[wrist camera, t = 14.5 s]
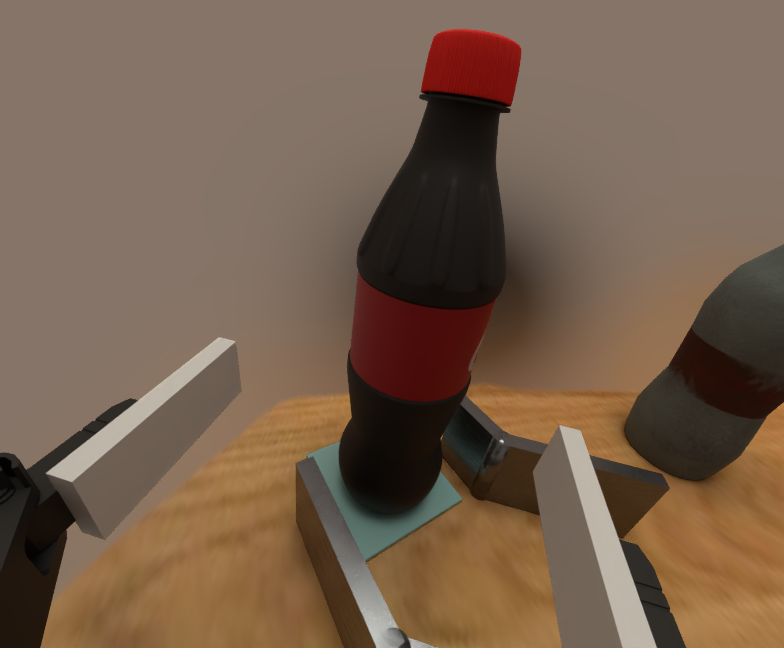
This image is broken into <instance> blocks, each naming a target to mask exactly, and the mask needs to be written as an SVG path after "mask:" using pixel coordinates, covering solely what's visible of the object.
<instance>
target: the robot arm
mask: <svg viewBox="0 0 784 648" xmlns="http://www.w3.org/2000/svg"><path fill="white" fill-rule="evenodd" d="M241 391H242V390H241V381H240V373H239V364H238V356H237V347H236V342H235V341H232V340H228V339H224V338H220V337H219V338H217V340H215V341H214V342H213V343H211V344H210V345H209V346H207V347H206V348H205V349H203V350H202V351H201V352H200V353H198V354H197V355H196V356H195V357H193V358H192V359H191V360H189V361H188V362H187V363H186V364H184V365H183V366H182V367H181V368H180V369H178V370H177V371H175V372H174V373H173V374H172V375H170V376H169V377H168V378H167V379H165V380H164V381H163V382H162V383H160V384H159V385H158V386H156V387H155V388H154V389H152V390H151V391H150V392H149V393H147V394H146V395H145V396H144V397H142V398H141V399H140V400H135V399H131V398H130V399H128V400H126V401H123V402H121V403H119V404H117V405H115V406H113V407H111V408H110V409H108V410H107V411H105V412H104V413H103V414H101V415H100V416H99V417H97V418H96V420H95V421H92V422H91V423H89V424H88V425H87V426H85V427H84V428H83V430H82V431H79V432H77V433H76V434H74V435H73V436H72V437H70V438H69V439H68V440H66V441H65V442H64V443H62V444H61V445H60V446H58V447H57V448H56V449H54V450H53V451H52V452H50V453H49V454H48V455H46V456H45V457H44V458H42V459H41V460H40V461H38V462H37V463H36V464H34V465H33V466H32V467H30V468H29V469H27V470H26V469H25V468H24V466H23V465H22V463H21V462H20V460H19V459H18V458H17V457H16V456H15V455H14V454H9V453H0V648H40V647H41V643H42V638H43V634H44V630H45V626H46V622H47V618H48V614H49V610H50V606H51V602H52V597H53V593H54V589H55V585H56V581H57V577H58V573H59V569H60V564H61V561H62V557H63V552H64V548H65V544H66V540H67V531H66V529H67V528H68V527H69V526H70V525H72V524H73V523H74V522H75V521H76V523H77V524H78V526H79V528H80V529H81V531H82V532H84V533H86V534H89V535H92V536H95V537H98V538H101V539H104V540H105V539H106V538H107V537H108V536H109V535H110V534H111V533H112V532H113V531H114V529H115V528H116V527H117V526H118V525H119V524H120V523H121V522H122V521H123V520H124V519H125V518H126V516H127V515H128V514H129V513H130V512H131V511H132V510H133V509H134V508H135V506H137V504H138V503H139V502H140V501H141V500H142V499H143V498H144V497H145V496H146V495H147V494H148V492H149V491H150V490H151V489H152V488H153V487H154V486H155V485H156V484H157V483H158V481H159V480H160V479H161V478H162V477H163V476H164V475H165V474H166V473H167V472H168V471H169V470H170V469H171V467H172V466H173V465H174V464H175V463H176V462H177V461H178V460H179V459H180V458H181V457H182V455H183V454H184V453H185V452H186V451H187V450H188V449H189V448H190V447H191V446H192V445H193V443H194V442H195V441H196V440H197V439H198V438H199V437H200V436H201V435H202V434H203V433H204V431H205V430H206V429H207V428H208V427H209V426H210V425H211V424H212V423H213V422H214V421H215V419H216V418H217V417H218V416H219V415H220V414H221V413H222V412H223V411H224V410H225V409H226V408H227V406H228V405H229V404H230V403H231V402H232V401H233V400H234V399H235V398H236V397H237V396H238V394H239V393H240V392H241ZM533 476H534V482H535V488H536V494H537V500H538V506H539V512H540V518H541V524H542V530H543V536H544V542H545V548H546V554H547V560H548V566H549V572H550V578H551V584H552V590H553V596H554V602H555V608H556V614H557V620H558V626H559V632H560V638H561V644H562V648H686V646H685V644H684V641H683V639H682V636H681V634H680V632H679V629H678V627H677V624H676V622H675V619H674V617H673V614H672V613H670V607H669V605H668V602H667V600H666V597H665V595H664V594H663V593H662V587H661V585H660V583H659V580H658V578H657V575H656V573H655V570H654V568H653V566H652V565H651V563H650V562H649V560H648V559H647V558H646V556H645V555H644V553H643V552H642V551H641V549H640V548H639V546H638V545H636V544H633V543H629V542H626V541H622V540H619V539H618V536H617V533H616V530H615V527H614V525H613V522H612V519H611V516H610V513H609V510H608V507H607V505H606V502H605V499H604V496H603V493H602V490H601V488H600V485H599V482H598V479H597V476H596V473H595V470H594V468H593V465H592V462H591V459H590V456H589V453H588V451H587V448H586V445H585V442H584V439H583V436H582V434H581V431H580V430H576V429H572V428H568V427H564V426H560V425H559V427H558V428H557V430H556V432H555V434H554V435H553V437H552V439H551V441H550V442H549V444H548V446H547V448H546V449H545V451H544V453H543V455H542V456H541V458H540V460H539V462H538V463H537V465H536V467H535V469H534V470H533Z"/></svg>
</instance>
